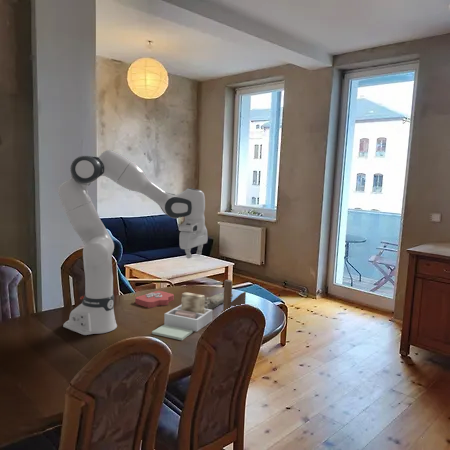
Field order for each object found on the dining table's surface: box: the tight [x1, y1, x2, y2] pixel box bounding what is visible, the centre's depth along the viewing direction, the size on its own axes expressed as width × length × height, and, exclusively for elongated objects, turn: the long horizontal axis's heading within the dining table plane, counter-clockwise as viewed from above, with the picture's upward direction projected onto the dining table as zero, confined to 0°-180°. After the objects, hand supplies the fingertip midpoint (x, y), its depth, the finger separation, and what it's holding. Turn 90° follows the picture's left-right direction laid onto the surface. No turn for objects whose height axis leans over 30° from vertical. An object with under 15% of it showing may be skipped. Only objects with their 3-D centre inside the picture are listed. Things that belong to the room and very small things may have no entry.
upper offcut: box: [175, 310, 196, 319], centre depth 182 cm, size 8×4×3 cm, turn 71°
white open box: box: [163, 303, 214, 332], centre depth 185 cm, size 16×15×5 cm
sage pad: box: [151, 324, 194, 341], centre depth 173 cm, size 14×9×1 cm, turn 66°
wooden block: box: [221, 279, 247, 313], centre depth 189 cm, size 4×11×18 cm, turn 54°
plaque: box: [135, 290, 175, 309], centre depth 212 cm, size 18×4×15 cm
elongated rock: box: [204, 291, 234, 310], centre depth 212 cm, size 35×5×10 cm
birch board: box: [181, 291, 206, 314], centre depth 188 cm, size 10×3×12 cm, turn 66°
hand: (194, 256), depth 185 cm, fingers open, 8 cm apart
